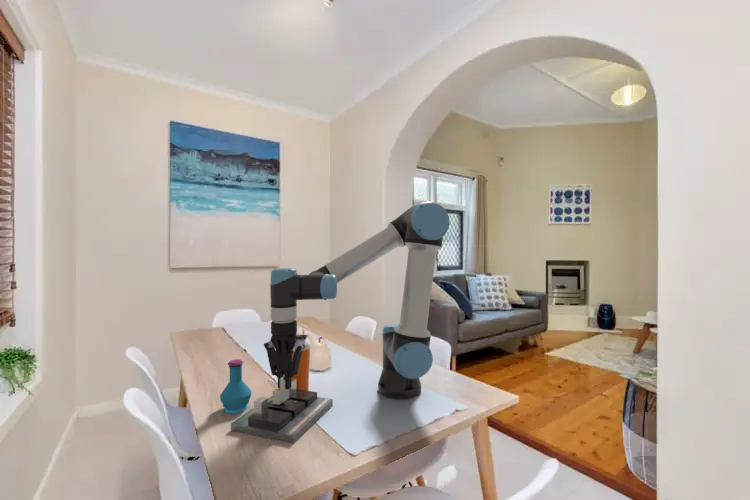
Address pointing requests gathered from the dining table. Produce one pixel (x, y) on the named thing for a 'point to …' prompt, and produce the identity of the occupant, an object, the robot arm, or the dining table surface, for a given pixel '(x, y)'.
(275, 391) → the breaker handle
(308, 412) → the panel
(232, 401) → the perfume bottle
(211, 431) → the dining table surface
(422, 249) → the robot arm
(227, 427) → the dining table surface
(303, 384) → the shaker bottle
